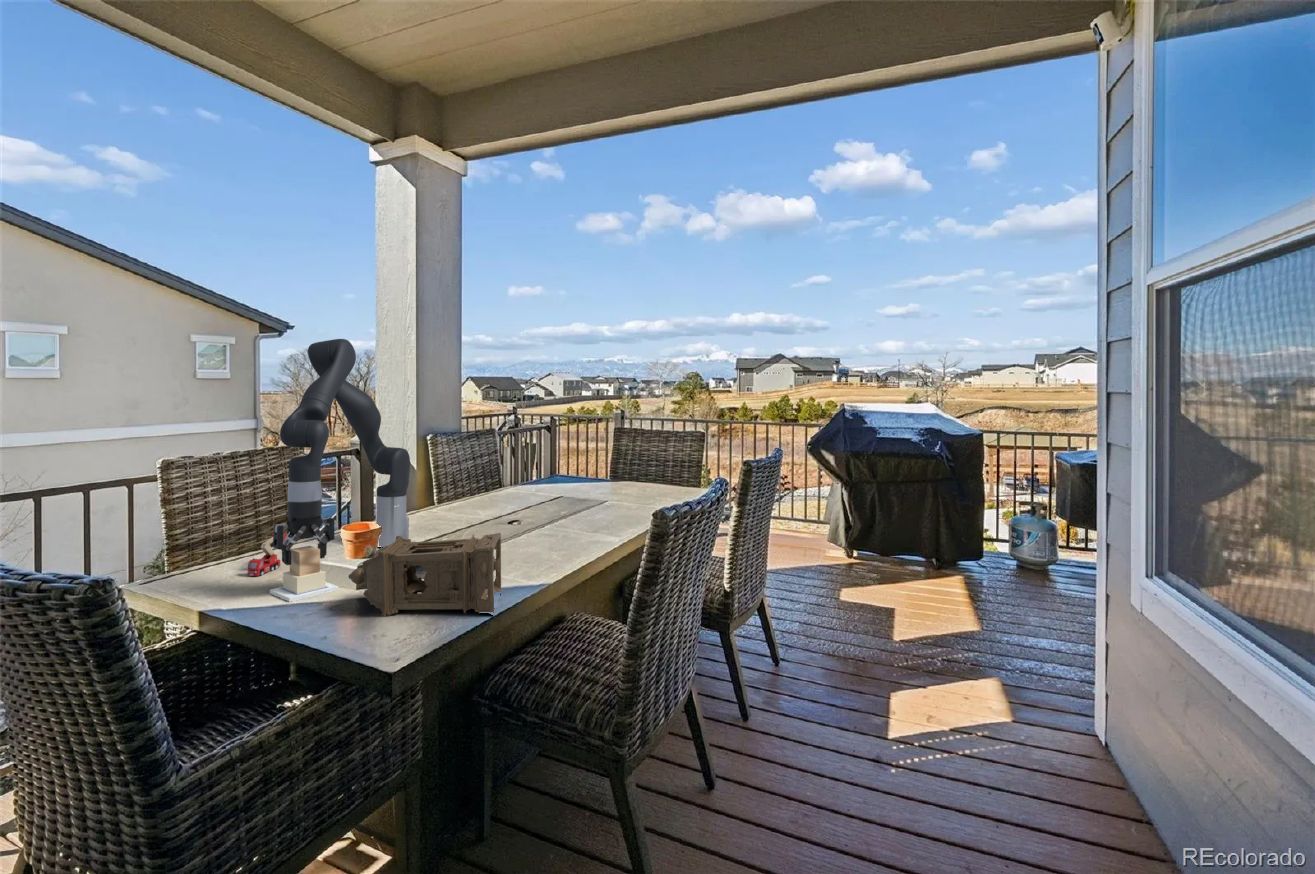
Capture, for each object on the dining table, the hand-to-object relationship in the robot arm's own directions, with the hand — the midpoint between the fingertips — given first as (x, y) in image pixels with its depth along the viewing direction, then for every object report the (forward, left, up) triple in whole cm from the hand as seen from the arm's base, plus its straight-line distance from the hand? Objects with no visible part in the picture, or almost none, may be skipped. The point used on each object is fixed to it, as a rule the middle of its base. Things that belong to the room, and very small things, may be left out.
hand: (304, 561), depth 154 cm
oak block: (0, 0, -3) cm, 3 cm away
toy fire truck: (-3, -26, -8) cm, 27 cm away
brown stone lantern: (-13, +31, -8) cm, 35 cm away
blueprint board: (0, 0, -8) cm, 8 cm away
